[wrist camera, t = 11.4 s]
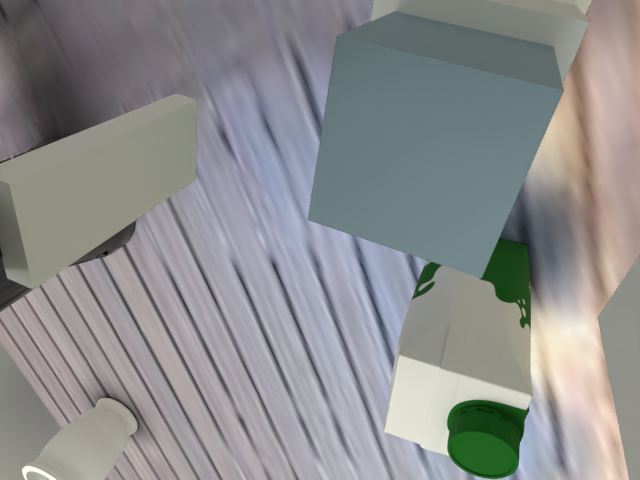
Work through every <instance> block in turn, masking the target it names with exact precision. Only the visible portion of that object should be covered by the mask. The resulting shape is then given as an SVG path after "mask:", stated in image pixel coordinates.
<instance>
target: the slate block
mask: <svg viewBox="0 0 640 480" xmlns="http://www.w3.org/2000/svg"><path fill="white" fill-rule="evenodd" d="M563 91H564V89H563V85H562V80H561V76H560V72H559V67H558V63H557V59H556V54H555V50H554V46H549V45H545V44H540V43H536V42H531V41H527V40H522V39H518V38H513V37H508V36H504V35H499V34H495V33H490V32H486V31H481V30H477V29H472V28H468V27H463V26H459V25H454V24H450V23H445V22H441V21H436V20H432V19H427V18H423V17H418V16H414V15H409V14H405V13H400V12H396V11H394V12H392V13H390V14H387V15H385V16H383V17H380V18H378V19H375V20H373V21H371V22H368V23H366V24H364V25H361V26H359V27H356V28H354V29H352V30H349V31H347V32H345V33H342V34H340V35H337V38H336V44H335V51H334V57H333V63H332V70H331V76H330V82H329V88H328V95H327V101H326V107H325V114H324V120H323V126H322V132H321V139H320V145H319V151H318V158H317V164H316V170H315V176H314V183H313V189H312V195H311V202H310V208H309V214H308V220H309V221H312V222H315V223H318V224H321V225H324V226H327V227H330V228H333V229H336V230H339V231H342V232H345V233H348V234H351V235H354V236H357V237H360V238H363V239H366V240H369V241H372V242H375V243H378V244H381V245H384V246H387V247H390V248H393V249H396V250H399V251H401V252H404V253H407V254H410V255H413V256H416V257H419V258H422V259H425V260H428V261H431V262H434V263H437V264H440V265H443V266H446V267H449V268H452V269H455V270H458V271H461V272H464V273H467V274H470V275H473V276H476V277H479V278H482V276H483V274H484V271H485V269H486V267H487V264H488V262H489V260H490V258H491V255H492V253H493V251H494V248H495V246H496V244H497V242H498V239H499V237H500V235H501V232H502V230H503V228H504V226H505V223H506V221H507V219H508V216H509V214H510V212H511V210H512V207H513V205H514V203H515V200H516V198H517V196H518V194H519V191H520V189H521V187H522V185H523V182H524V180H525V178H526V175H527V173H528V171H529V169H530V166H531V164H532V162H533V159H534V157H535V155H536V153H537V150H538V148H539V146H540V143H541V141H542V139H543V137H544V134H545V132H546V130H547V127H548V125H549V123H550V121H551V118H552V116H553V114H554V111H555V109H556V107H557V105H558V102H559V100H560V98H561V95H562V93H563Z"/></svg>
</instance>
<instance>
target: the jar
mask: <svg viewBox="0 0 640 480" xmlns="http://www.w3.org/2000/svg"><path fill="white" fill-rule="evenodd" d="M137 428H138V424H137V421H136V419H135V417H134V415H133V414H132V413H131V412H130V410H129V409H127V408H126V407H125V406H124V405H123V404H121V403H120V402H118V401H116V400H114V399H111V398H101V399H99V400H98V402H97V404H96V407H95V408H92V409H90V410H88V411H86V412H84V413H83V414H81V415H80V416H78V417H77V418H76V419H75V420H74V421H72V422H71V423H69V424H68V425H67V426H65V427H64V428H63V429H62V430H61V431H59V432H58V433H57V434H56V435H55V436H54V437H53V438H52V439H51V440H50V441H49V443H48V444H47V445H46V447H44V449H43V450H42V452H41V453H40V455H39V456H38V458H37V459H36V461H34V462H30V463H28V464H27V465H26V466H25V467H24V468H23V470H22V473H23V476H24V478H25V479H26V480H105V478H106V477H107V476H108V474H109V473H110V472H111V470H112V469H113V467H114V465H115V464H116V462H117V460H118V458H119V457H120V455H121V454H122V452H123V450H124V449H125V446H126V444H127V441H128V438H129V435H131V434H133V433H135V432H136V431H137Z"/></svg>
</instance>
